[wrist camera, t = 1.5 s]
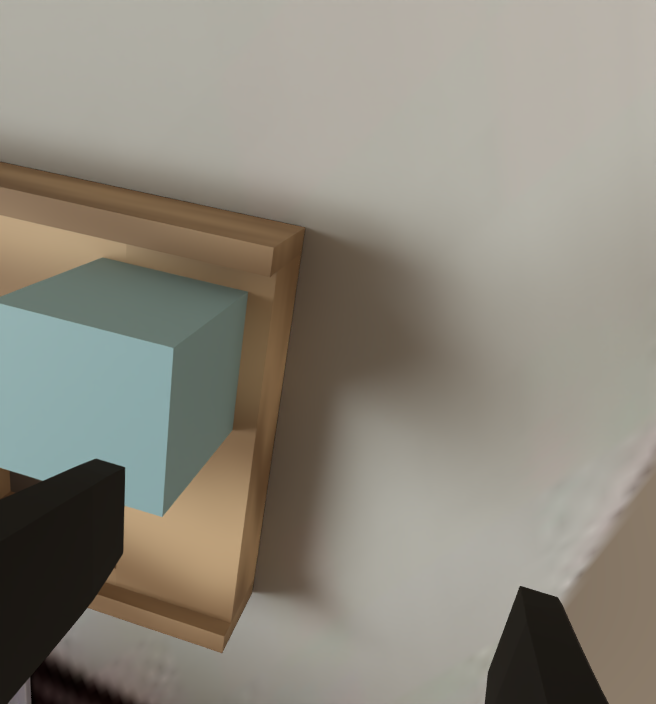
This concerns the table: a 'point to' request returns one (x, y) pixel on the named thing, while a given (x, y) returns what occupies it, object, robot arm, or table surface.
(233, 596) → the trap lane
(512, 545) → the table surface
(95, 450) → the teal block
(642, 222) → the table surface
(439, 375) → the table surface
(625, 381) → the table surface
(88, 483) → the robot arm
